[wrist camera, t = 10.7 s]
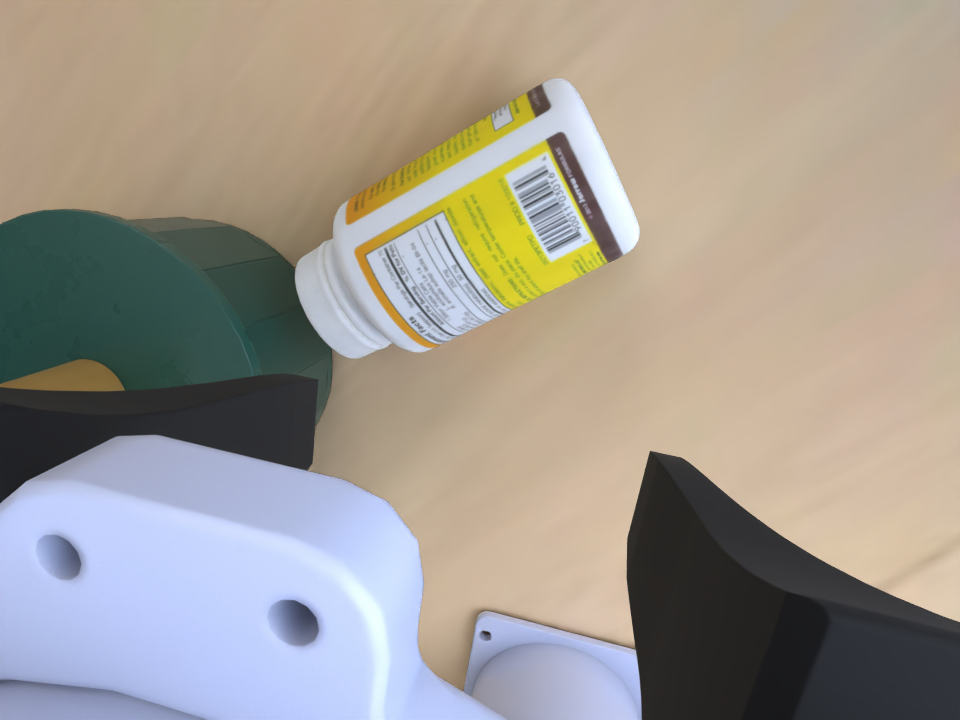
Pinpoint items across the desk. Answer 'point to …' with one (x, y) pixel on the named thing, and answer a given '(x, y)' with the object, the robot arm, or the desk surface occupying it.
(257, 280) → the tin
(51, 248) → the lid
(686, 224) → the desk surface
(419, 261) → the supplement bottle
